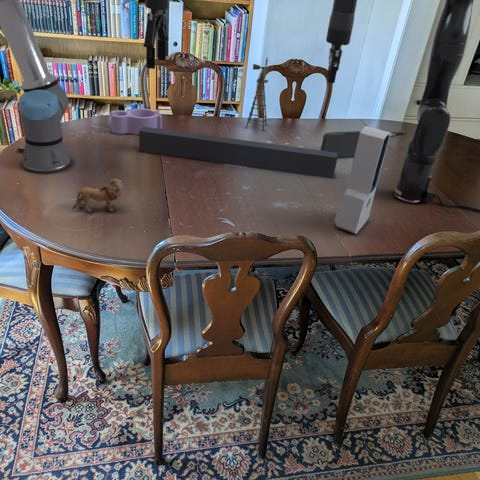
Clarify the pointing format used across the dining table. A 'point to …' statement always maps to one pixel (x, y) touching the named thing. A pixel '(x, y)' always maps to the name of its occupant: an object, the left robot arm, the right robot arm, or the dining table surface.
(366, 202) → the electronic device
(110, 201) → the lion figurine
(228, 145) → the bar
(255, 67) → the miniature windmill
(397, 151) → the dining table surface
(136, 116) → the purple lobed container
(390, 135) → the sword
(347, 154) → the handheld gaming console
